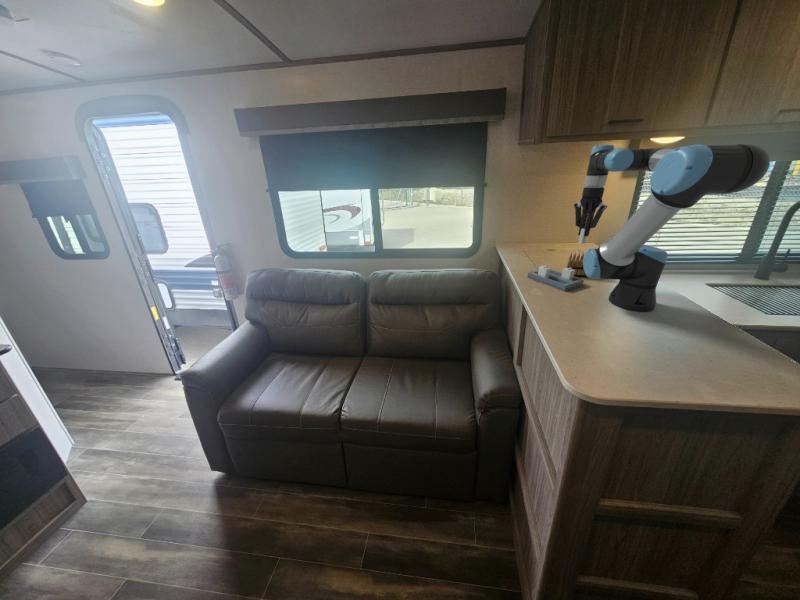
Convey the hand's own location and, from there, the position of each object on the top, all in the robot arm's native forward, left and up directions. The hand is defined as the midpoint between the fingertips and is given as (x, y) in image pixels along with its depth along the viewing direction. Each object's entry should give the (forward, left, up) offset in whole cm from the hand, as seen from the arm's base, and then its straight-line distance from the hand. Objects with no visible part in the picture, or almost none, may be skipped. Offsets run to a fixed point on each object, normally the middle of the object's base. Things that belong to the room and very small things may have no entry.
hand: (581, 243), depth 134 cm
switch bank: (+5, +6, -19) cm, 20 cm away
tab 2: (+1, +3, -17) cm, 18 cm away
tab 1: (+9, +10, -17) cm, 22 cm away
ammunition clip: (+4, -9, -19) cm, 21 cm away
